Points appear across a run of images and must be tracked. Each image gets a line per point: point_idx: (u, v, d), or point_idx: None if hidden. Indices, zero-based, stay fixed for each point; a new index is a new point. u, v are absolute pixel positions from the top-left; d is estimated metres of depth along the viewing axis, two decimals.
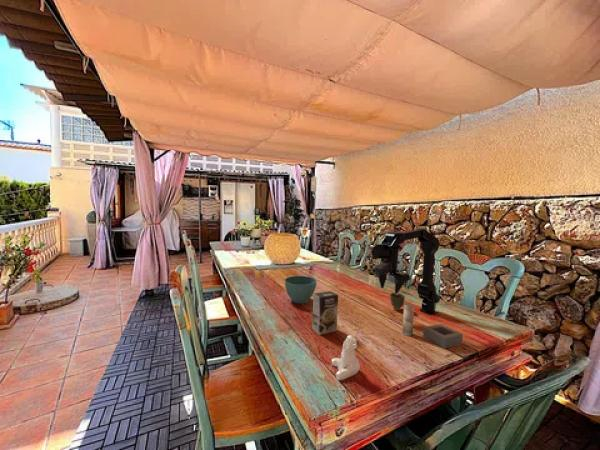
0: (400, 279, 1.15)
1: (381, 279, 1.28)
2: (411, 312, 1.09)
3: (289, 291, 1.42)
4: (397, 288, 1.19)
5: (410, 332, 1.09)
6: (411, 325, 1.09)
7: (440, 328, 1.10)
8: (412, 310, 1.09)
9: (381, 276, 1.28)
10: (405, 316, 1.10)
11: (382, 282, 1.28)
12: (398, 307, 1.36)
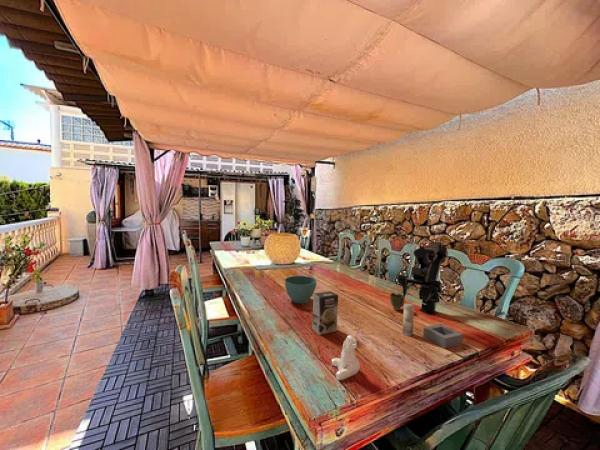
0: (439, 284, 1.13)
1: (405, 287, 1.21)
2: (411, 312, 1.09)
3: (289, 291, 1.42)
4: (428, 295, 1.14)
5: (410, 332, 1.09)
6: (411, 325, 1.09)
7: (440, 328, 1.10)
8: (412, 310, 1.09)
9: (406, 284, 1.22)
10: (405, 316, 1.10)
11: (405, 291, 1.20)
12: (398, 307, 1.36)
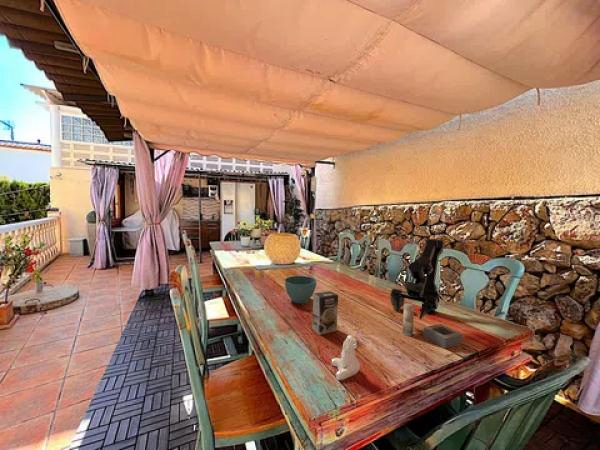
0: (434, 301, 1.07)
1: (399, 303, 1.16)
2: (411, 312, 1.09)
3: (289, 291, 1.42)
4: (423, 312, 1.08)
5: (410, 332, 1.09)
6: (411, 325, 1.09)
7: (440, 328, 1.10)
8: (412, 310, 1.09)
9: (400, 300, 1.16)
10: (405, 316, 1.10)
11: (399, 306, 1.15)
12: None
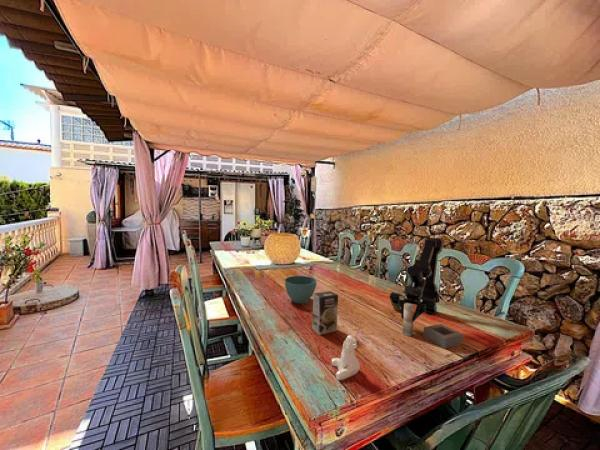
0: (433, 305, 1.06)
1: (403, 308, 1.13)
2: (411, 312, 1.09)
3: (289, 291, 1.42)
4: (416, 315, 1.09)
5: (410, 332, 1.09)
6: (411, 325, 1.09)
7: (440, 328, 1.10)
8: (412, 310, 1.09)
9: None
10: (405, 316, 1.10)
11: (403, 312, 1.12)
12: (398, 307, 1.36)
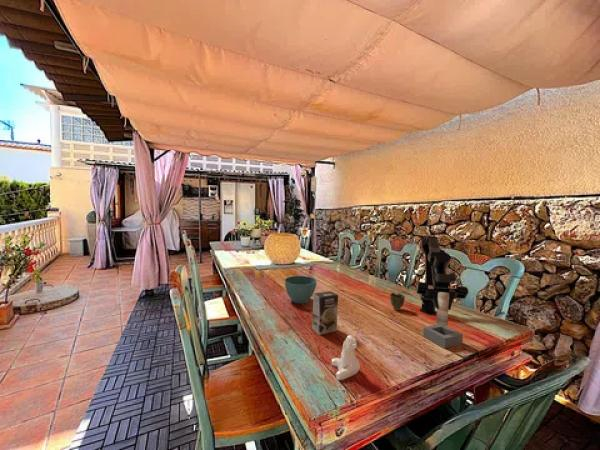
0: (467, 290, 1.04)
1: None
2: (448, 301, 1.04)
3: (289, 291, 1.42)
4: (451, 303, 1.05)
5: (446, 322, 1.04)
6: (447, 314, 1.04)
7: (440, 328, 1.10)
8: (448, 298, 1.04)
9: None
10: (442, 306, 1.04)
11: None
12: (398, 307, 1.36)
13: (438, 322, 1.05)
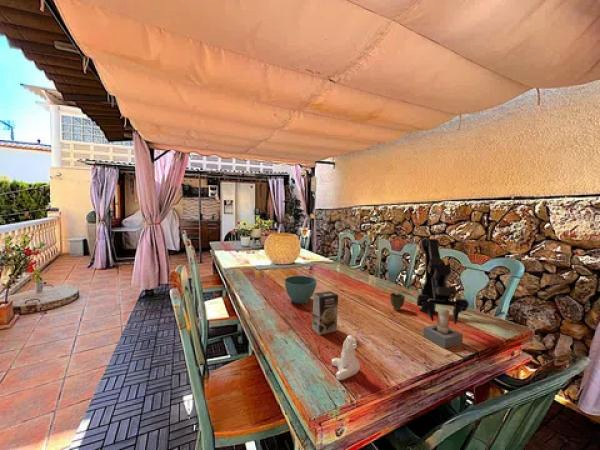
0: (468, 303, 1.05)
1: (431, 310, 1.08)
2: (448, 317, 1.04)
3: (289, 291, 1.42)
4: (457, 317, 1.04)
5: None
6: None
7: None
8: (448, 315, 1.04)
9: None
10: (442, 323, 1.04)
11: None
12: (398, 307, 1.36)
13: None
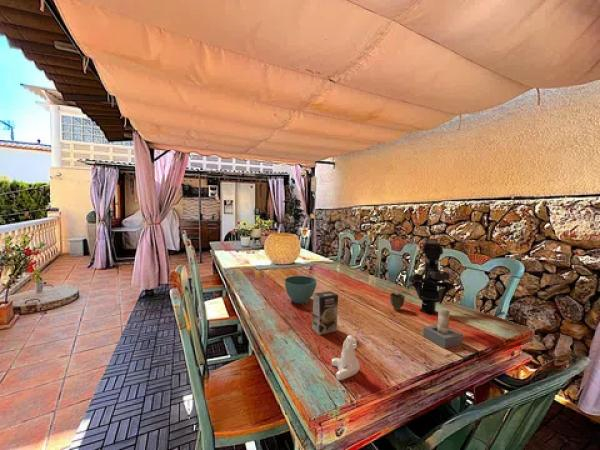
0: None
1: None
2: (448, 317, 1.04)
3: (289, 291, 1.42)
4: None
5: None
6: (448, 330, 1.05)
7: None
8: None
9: None
10: (442, 323, 1.04)
11: None
12: (398, 307, 1.36)
13: None
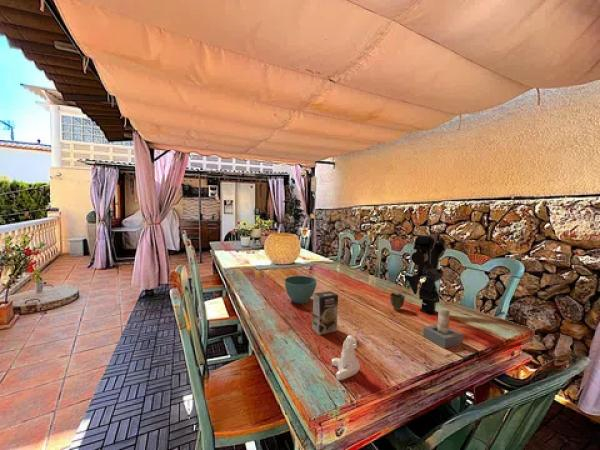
0: (441, 277, 1.26)
1: None
2: (448, 317, 1.04)
3: (289, 291, 1.42)
4: None
5: None
6: (448, 330, 1.05)
7: None
8: (449, 315, 1.04)
9: None
10: (442, 323, 1.04)
11: None
12: (398, 307, 1.36)
13: None
